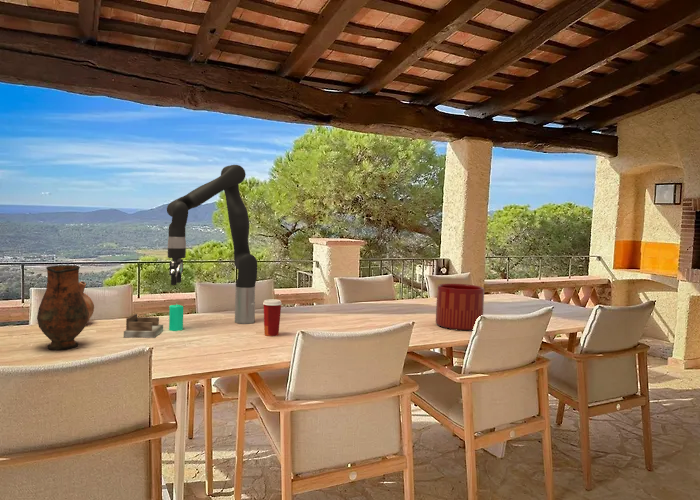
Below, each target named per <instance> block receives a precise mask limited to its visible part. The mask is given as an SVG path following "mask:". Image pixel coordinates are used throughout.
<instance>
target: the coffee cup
mask: <svg viewBox="0 0 700 500" xmlns="http://www.w3.org/2000/svg"><path fill="white" fill-rule="evenodd" d="M282 304H283V303H282V301H281V300H280V299H275V298H274V299H273V298H271V299H270V298H269V299H264V300H263V303H262V305H263V325H264V327H263V328H264V336H266V337H278V335H279V333H280V323H281V312H282V311H281V310H282Z"/></svg>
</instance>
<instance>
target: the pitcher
mask: <svg viewBox="0 0 700 500" xmlns="http://www.w3.org/2000/svg"><path fill="white" fill-rule="evenodd" d="M45 268H46V272H47V274H46V275H47V282H46V289H45V291H44V294H43V297H42V299H41V301H40V304H39V307H38V311H37V316H36V317H37V318H36V319H37V320H36V321H37V324H38V327H39V329H40V331H41V332H42V333H43V334H44V335H45V337H46V338H47V339H49V341H51V342H50V343H49V344H48V345H47V346H46V347H47V349H48V350H50V351H65V350H70V349H75V348H76V347H78V346H79V343H78V342H77V341H75V339H76V338H77V337H78V336H79V335H80V334H81V333H82V332H83V330H84V329H85V327H86V326H87V324H88V323H89V320H88V317H89V312H88V308H87V304H86V302H85V300H84V298H83V296H82V293H81V291H80V288H79V283H80V280H79V277H80V276H79V275H80V273H79V272H80V266H79V265H67V264H66V265H65V264H64V265H51V266H47V267H45Z"/></svg>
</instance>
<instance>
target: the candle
mask: <svg viewBox="0 0 700 500" xmlns="http://www.w3.org/2000/svg"><path fill="white" fill-rule="evenodd" d="M168 308H169V313H168V314H169V315H168V316H169V317H168V318H169V319H168V322H169V323H168V331H171V332H179V331H183V330H184V305H182V304H178V303H177V302H176V304H171V305H169V307H168Z"/></svg>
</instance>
